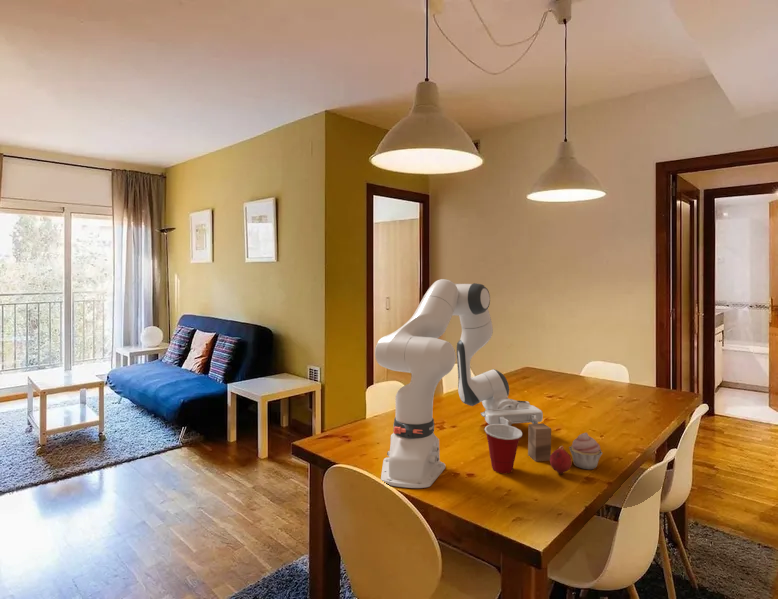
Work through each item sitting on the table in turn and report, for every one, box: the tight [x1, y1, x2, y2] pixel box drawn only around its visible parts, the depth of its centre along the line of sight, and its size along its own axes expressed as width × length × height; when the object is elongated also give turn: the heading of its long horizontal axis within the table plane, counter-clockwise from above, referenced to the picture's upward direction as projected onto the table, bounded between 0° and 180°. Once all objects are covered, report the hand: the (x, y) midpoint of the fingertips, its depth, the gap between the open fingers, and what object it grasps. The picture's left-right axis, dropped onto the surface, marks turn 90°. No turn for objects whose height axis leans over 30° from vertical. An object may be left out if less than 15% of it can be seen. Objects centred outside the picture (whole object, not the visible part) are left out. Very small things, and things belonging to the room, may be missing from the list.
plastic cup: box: [484, 424, 523, 474], centre depth 137 cm, size 11×11×12 cm
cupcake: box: [568, 432, 603, 470], centre depth 140 cm, size 9×9×10 cm
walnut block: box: [527, 423, 552, 462], centre depth 146 cm, size 5×5×10 cm
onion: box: [549, 445, 573, 475], centre depth 134 cm, size 6×6×8 cm
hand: (522, 422), depth 158 cm, fingers open, 8 cm apart
